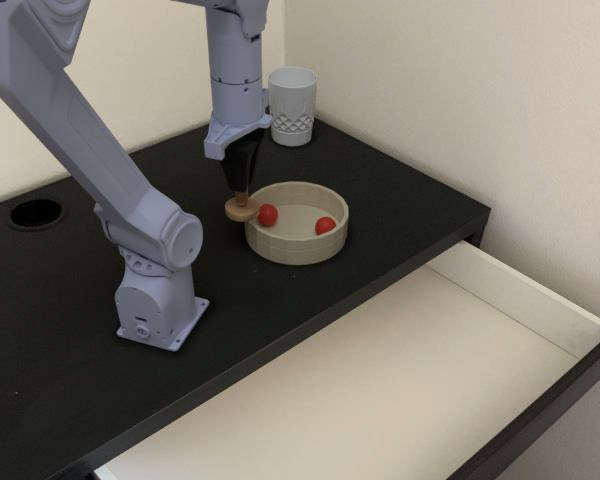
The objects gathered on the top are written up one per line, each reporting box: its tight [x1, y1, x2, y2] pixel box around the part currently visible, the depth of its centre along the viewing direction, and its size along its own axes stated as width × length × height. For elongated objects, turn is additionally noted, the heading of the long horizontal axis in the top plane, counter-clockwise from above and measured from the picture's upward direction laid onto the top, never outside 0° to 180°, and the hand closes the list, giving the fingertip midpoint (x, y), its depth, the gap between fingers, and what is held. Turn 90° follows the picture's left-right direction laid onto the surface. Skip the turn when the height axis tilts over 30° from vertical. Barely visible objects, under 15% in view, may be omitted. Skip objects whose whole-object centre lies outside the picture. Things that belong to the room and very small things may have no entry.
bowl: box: [244, 181, 350, 266], centre depth 92 cm, size 14×14×4 cm
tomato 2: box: [315, 217, 336, 235], centre depth 91 cm, size 3×3×3 cm
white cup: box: [267, 65, 319, 147], centre depth 108 cm, size 8×8×10 cm
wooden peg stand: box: [224, 186, 259, 223], centre depth 82 cm, size 4×4×8 cm
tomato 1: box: [257, 204, 278, 226], centre depth 93 cm, size 3×3×3 cm
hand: (241, 185), depth 83 cm, fingers closed on wooden peg stand
